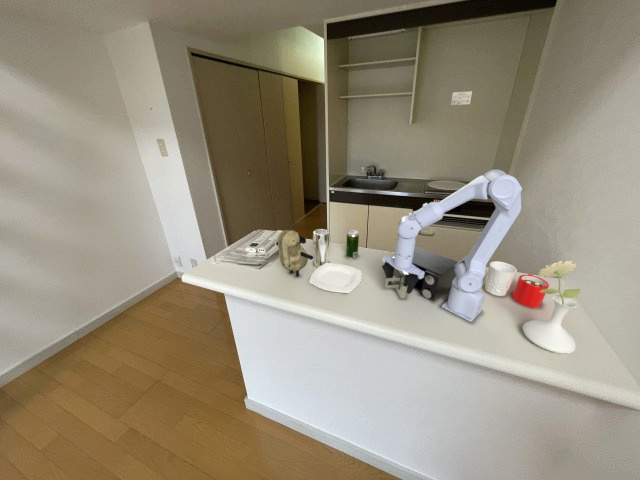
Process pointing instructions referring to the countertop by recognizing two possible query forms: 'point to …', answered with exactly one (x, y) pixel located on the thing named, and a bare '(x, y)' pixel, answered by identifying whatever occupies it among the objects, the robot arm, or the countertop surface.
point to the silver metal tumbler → (320, 246)
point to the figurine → (292, 251)
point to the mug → (529, 290)
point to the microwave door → (398, 282)
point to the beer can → (352, 244)
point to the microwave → (433, 273)
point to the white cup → (499, 278)
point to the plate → (336, 277)
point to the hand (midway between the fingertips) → (399, 287)
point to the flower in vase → (554, 314)
